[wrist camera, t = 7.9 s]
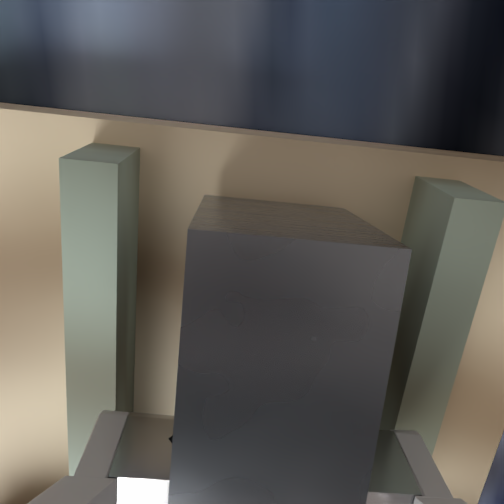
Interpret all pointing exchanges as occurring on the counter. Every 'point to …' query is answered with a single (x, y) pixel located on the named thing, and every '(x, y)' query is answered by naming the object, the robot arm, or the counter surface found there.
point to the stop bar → (282, 353)
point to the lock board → (173, 268)
